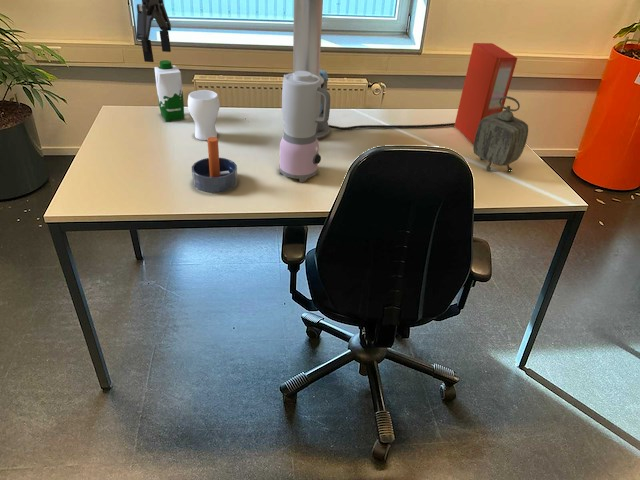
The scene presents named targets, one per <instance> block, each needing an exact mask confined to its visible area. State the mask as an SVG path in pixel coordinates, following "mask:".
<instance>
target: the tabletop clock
mask: <svg viewBox="0 0 640 480" xmlns="http://www.w3.org/2000/svg"><path fill="white" fill-rule="evenodd" d="M505 98H506V100H507V99H508V100H511V101H513V102H515V103H516V104H517V108H515V109H514V108H511V106H510V105H506V106H505V105H504V106H503V105H502V104H501V100H502V99H505ZM499 103H500V106H501V107H502V108H503V111H501V112H500V113H494V114H491V115H489V116H487V117H485V118H483V119H482V120H481V121H480V123H479V126H478V129H477V132H476V135H475V140H474V144H473V150H472V151H473V154H474V155H475V156H476V157H478V158H479V160H480V161H487V162H488V163H489V164H488V165H487V166H486V167H485V169H486V171H487V172H489V171H491V170H492V167H491V166H492V164H494V165H497V166H500V167H507V169H508V170H507V169H506V171H507V172H508V173H512V171H513V168H512V167H510V165H511V164H512V163H514V162H516V161H518V159H519V158H521V156H522V154H523V152H524V149H525V148H526V145H527V140H528V135H529V124H528V123H526V122H525V121H524V120H522V119H520V118H518V117H515V115H514V113H513V112H517V111H518V110H520V106H521V105H520V102H519V100H517V99H516V98H514V97H511V96H508V95H507V96H506V97H502V98H501V99H500V101H499ZM509 170H510V171H509ZM511 170H512V171H511Z"/></svg>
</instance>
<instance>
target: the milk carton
mask: <svg viewBox="0 0 640 480" xmlns="http://www.w3.org/2000/svg"><path fill="white" fill-rule="evenodd" d="M154 75H155V85H156V93H157V101H158V107H159V111H160V115H161V116H162V118H163V120H164V121H165V122H172V121H180V120H181V121H182V120H185V103H184V102H185V101H184V92H183V81H182V72H181V71H180V69H179V68H178V67H177V66H176V65H172V60H160V61H159V66H154Z"/></svg>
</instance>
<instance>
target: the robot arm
mask: <svg viewBox="0 0 640 480" xmlns="http://www.w3.org/2000/svg"><path fill="white" fill-rule="evenodd" d="M323 1H324V0H293V30H292V31H293V35H292V37H293V39H292V41H293V44H292V45H293V47H292V48H293V49H292V54H293V55H292V73H294V72H296V71H307V72H310V73H311V74H314V75H316V76H318V77H319V78H320V80H321V88H323V89H325V90H327V91H328V81H329V78H328V77H329V75H328V72H327V71H326V70H324V69H321V53H322V51H321V49H322V48H321V47H322V28H323V26H322V25H323V5H324V4H323ZM136 12H137V15H136V39H137V41H140V42H141V48H142V54H143V61H144V62H145V63H154V62H155V61H154V53H153V47H152V40H151V39H150V34H151V28H152V23H153V21H154V20H155V21H156V24H157V26H158V27H159V29H160V30H159V36H160V37H159V38H160V44H161V45H160V46H161V52H162V53H163V52H165V53H171V52H172V50H171V42H170V41H171V40H170V33H169V31H171V30H172V27H171V26H172V23H171V21H170V18H169V15H168V12H167V10H166V7H165V3H164V0H141V3H137V4H136ZM324 100H325V98H324V96H323V95H321V101H320V113H319V117H323V114H324ZM454 125H455V122H450V123H449V122H448V123H435V124H402V125H401V124H399V125H398V124H397V125H396V124H364V125H363V124H360V125H359V124H358V125H351V126H347V127H346V126H345V127H344V126H337V125H330V124H329V120H328V121H327V122H326V123H317V127H316V133H315V134H316V138H317V140H321V139H325V138H326V137H328V136H329V134H330V129H334V130H339V131H349V130H354V129H413V128H414V129H420V128H421V129H422V128H439V127H440V128H441V127H452V126H453V127H455V126H454Z"/></svg>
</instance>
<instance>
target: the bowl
mask: <svg viewBox="0 0 640 480" xmlns="http://www.w3.org/2000/svg"><path fill="white" fill-rule="evenodd" d="M219 166H220V172H223V171H229V172H230V174H225V175H220V176H221V177H210V169H209V157H204V158H201V159H199V160H197V161H195V162H194V163H193V164H192V165H191V176H192V185H193V187H194V188H195V189H197V190H198V191H201V192H204V193H207V194H220V193H224V192H225V193H226V192H228V191H231V190H232V189H234V188H235V187H236V186H237V184H238V183H239V182H238V165H237V163H236V162H235V161H233V160H231V159H229V158H226V157H219Z"/></svg>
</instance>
